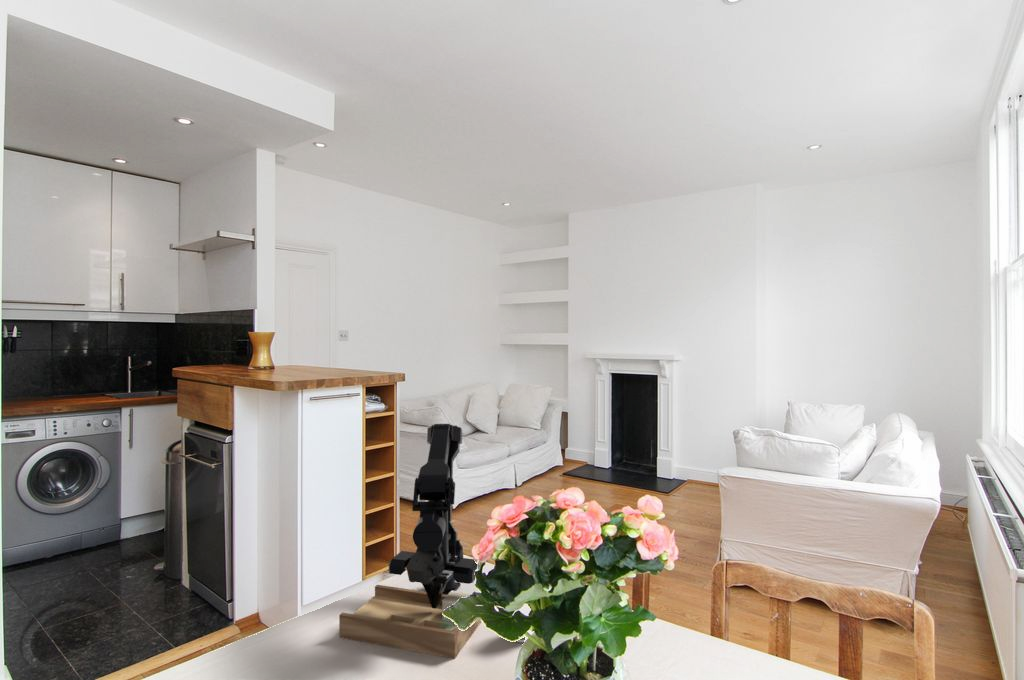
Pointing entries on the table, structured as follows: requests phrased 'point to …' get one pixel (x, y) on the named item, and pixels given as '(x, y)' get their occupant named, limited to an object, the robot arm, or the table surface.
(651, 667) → the table surface
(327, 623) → the table surface
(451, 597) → the block
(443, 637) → the box
